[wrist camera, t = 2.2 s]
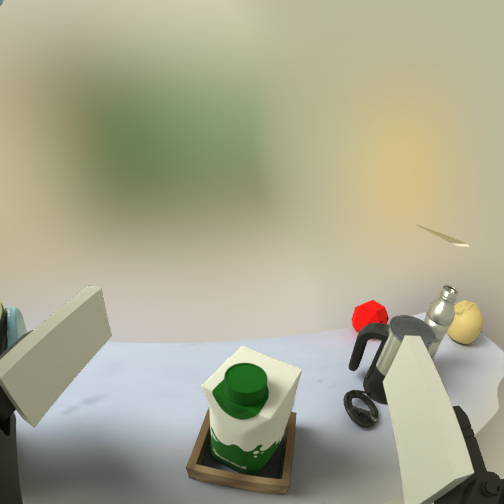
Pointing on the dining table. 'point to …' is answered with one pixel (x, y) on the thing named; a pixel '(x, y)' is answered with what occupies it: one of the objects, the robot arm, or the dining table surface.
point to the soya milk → (249, 409)
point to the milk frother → (381, 362)
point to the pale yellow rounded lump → (466, 322)
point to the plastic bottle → (441, 316)
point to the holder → (237, 479)
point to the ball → (369, 315)
